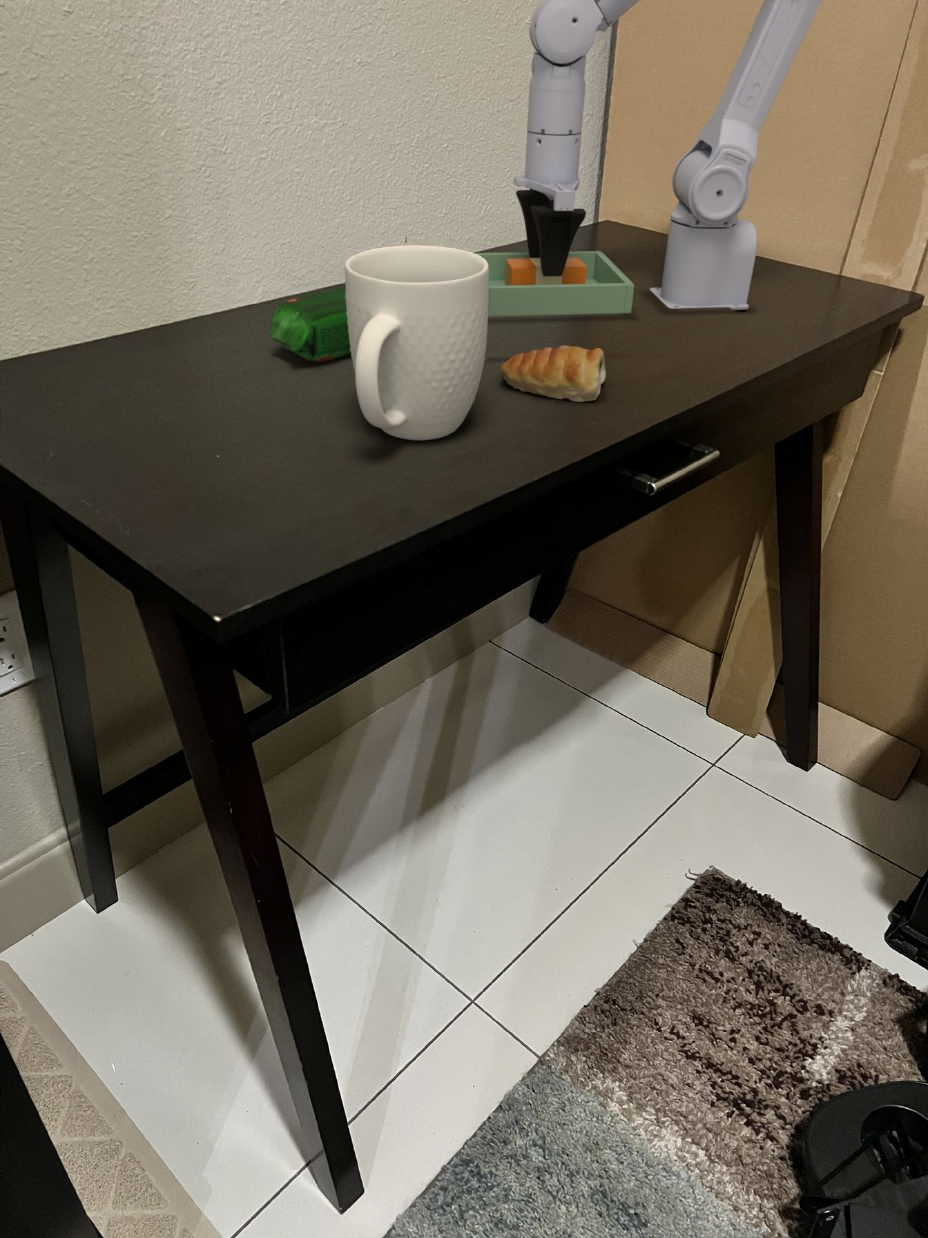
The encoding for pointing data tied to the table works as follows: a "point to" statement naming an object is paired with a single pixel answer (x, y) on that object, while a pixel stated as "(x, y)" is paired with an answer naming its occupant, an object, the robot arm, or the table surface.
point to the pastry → (558, 372)
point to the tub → (560, 289)
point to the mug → (417, 336)
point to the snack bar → (531, 273)
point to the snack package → (313, 325)
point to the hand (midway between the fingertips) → (545, 266)
